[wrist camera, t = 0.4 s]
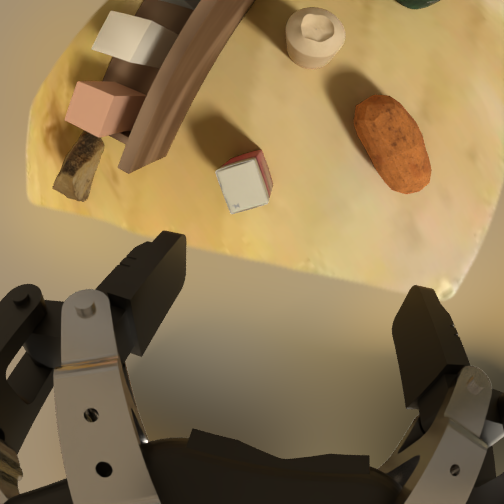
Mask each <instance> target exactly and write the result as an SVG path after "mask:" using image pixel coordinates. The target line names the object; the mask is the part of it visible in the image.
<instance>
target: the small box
mask: <svg viewBox="0 0 504 504" xmlns="http://www.w3.org/2000/svg"><path fill="white" fill-rule="evenodd" d="M216 175H217V178H218V181H219V184H220V187H221V190H222V193H223V195H224V198H225V200H226V203H227V205H228V208H229V211H230V213H231V214H235V213H238V212H242V211H246V210H249V209H252V208H256V207H259V206H262V205H265V204H268V202H269V198H270V194H271V191H272V187H273V182H272V178H271V175H270V172H269V168H268V165H267V163H266V160H265V157H264V154H263V152H262V150H261V149H260V150H256V151H253V152H249V153H246V154H243V155H240V156H237V157H234V158H231V159H230V160H229V161H227V162H226V163H225V164H224V165H223V166H221V167H220V168H219V169H217V170H216Z"/></svg>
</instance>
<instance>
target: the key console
mask: <svg viewBox="0 0 504 504" xmlns="http://www.w3.org/2000/svg"><path fill="white" fill-rule="evenodd" d="M254 1H255V0H201V1H200V2H199V4H198V5H197V7H196V8H195V10H193V9H189V8H186V7H183V6H179V5H176V4H172V3H169V2H165V1H161V0H144V1H143V3H142V4H141V6H140V8H139V9H138V11H137V13H136V14H135V16H136V17H140V18H144V19H147V20H151V21H153V22H155V23H157V24H159V25H161V26H163V27H165V28H167V29H169V30H170V31H172V32H174V33H176V34H178V37H177V39H176V40H175V42H174V44H173V46H172V47H171V49H170V51H169V53H168V55H167V56H166V58H165V60H164V62H163V64H162V66H161V68H156V67H151V66H146V65H141V64H136V63H131V62H128V61H125V60H122V59H119V58H116V57H113V58H112V60H111V63H110V65H109V67H108V69H107V72H106V74H105V76H104V79H103V81H110V82H116V83H119V84H121V85H124V86H126V87H128V88H131V89H133V90H135V91H138V92H140V93H142V94H145V95H147V96H146V98H145V101H144V103H143V105H142V107H141V109H140V112H139V114H138V116H137V119H136V121H135V123H134V126H133V128H132V130H129V131H124V132H120V133H116V134H111V135H109V136H111V137H113V138H115V139H116V140H118V141H120V142H122V143H124V144H126V146H125V149H124V151H123V154H122V157H121V160H120V162H119V165H118V168H119V169H121V170H123V171H124V172H126V173H128V174H129V173H131V172H133V171H135V170H137V169H140V168H142V167H144V166H146V165H148V164H150V163H152V162H154V161H157V160H159V159H161V158H163V157H165V156H166V155H167V153H168V151H169V148H170V146H171V144H172V142H173V140H174V138H175V136H176V133H177V131H178V129H179V127H180V125H181V123H182V121H183V119H184V117H185V115H186V113H187V111H188V109H189V107H190V106H191V104H192V102H193V100H194V98H195V96H196V94H197V92H198V91H199V89H200V87H201V85H202V83H203V82H204V80H205V78H206V76H207V74H208V73H209V71H210V69H211V68H212V66H213V64H214V62H215V61H216V59H217V57H218V56H219V54H220V52H221V51H222V49H223V48H224V46H225V44H226V43H227V41H228V40H229V38H230V37H231V35H232V33H233V32H234V30H235V29H236V27H237V26H238V24H239V23H240V21H241V20H242V18H243V17H244V16H245V14H246V13H247V11H248V10H249V8H250V7H251V6H252V4H253V3H254Z"/></svg>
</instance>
